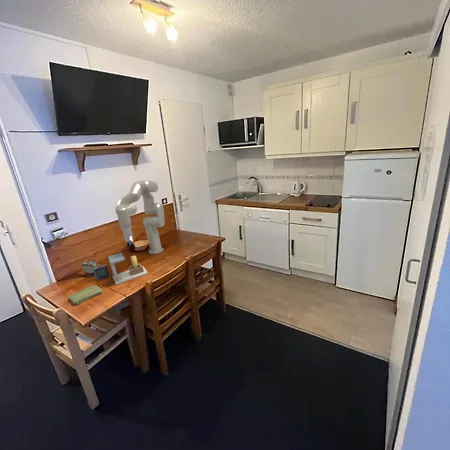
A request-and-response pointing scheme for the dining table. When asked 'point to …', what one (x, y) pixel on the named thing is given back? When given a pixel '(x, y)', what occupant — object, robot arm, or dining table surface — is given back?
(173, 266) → the dining table surface
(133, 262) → the peg
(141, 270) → the socket station
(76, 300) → the washcloth
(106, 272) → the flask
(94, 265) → the food container
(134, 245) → the robot arm
